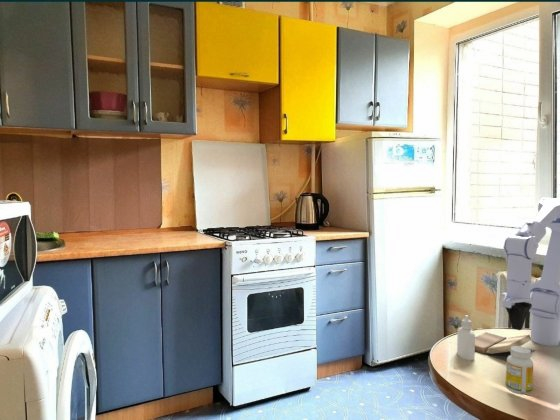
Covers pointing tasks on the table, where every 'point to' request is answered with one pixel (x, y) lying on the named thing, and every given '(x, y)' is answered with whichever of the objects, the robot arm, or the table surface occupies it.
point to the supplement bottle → (519, 370)
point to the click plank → (509, 344)
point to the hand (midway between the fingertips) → (516, 328)
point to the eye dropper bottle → (466, 340)
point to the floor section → (490, 344)
